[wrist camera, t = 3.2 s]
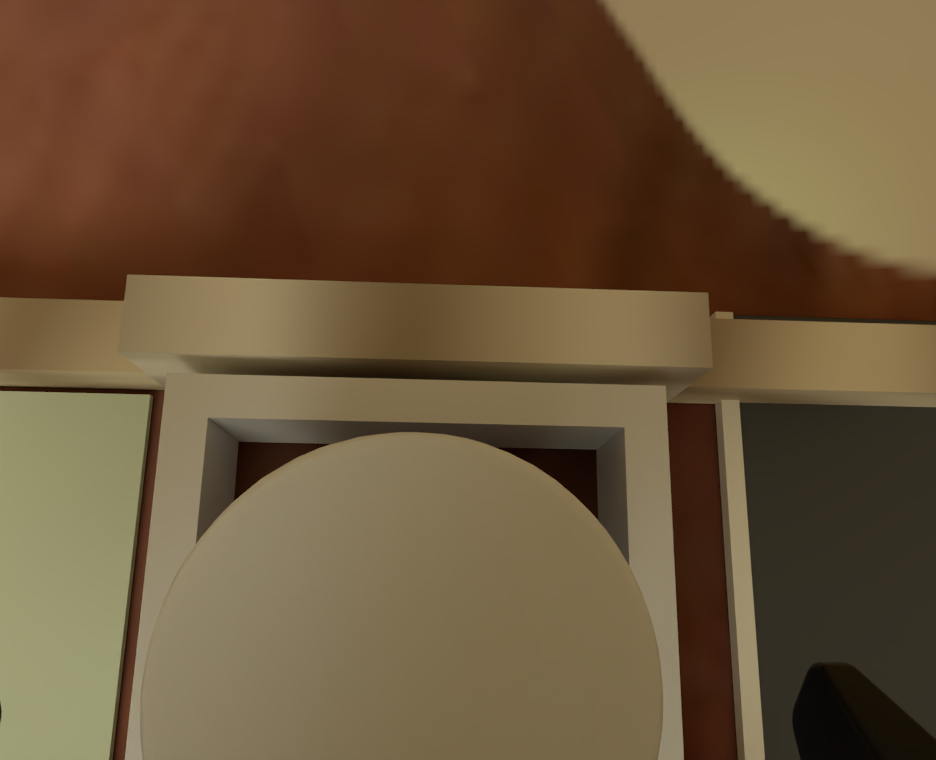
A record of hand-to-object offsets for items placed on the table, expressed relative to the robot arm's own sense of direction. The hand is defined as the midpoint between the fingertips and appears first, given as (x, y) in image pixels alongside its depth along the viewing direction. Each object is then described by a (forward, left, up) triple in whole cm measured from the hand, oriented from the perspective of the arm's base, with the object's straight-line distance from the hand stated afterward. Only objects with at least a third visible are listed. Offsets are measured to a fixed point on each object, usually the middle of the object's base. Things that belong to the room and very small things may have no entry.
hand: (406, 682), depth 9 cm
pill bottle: (0, 0, -8) cm, 8 cm away
